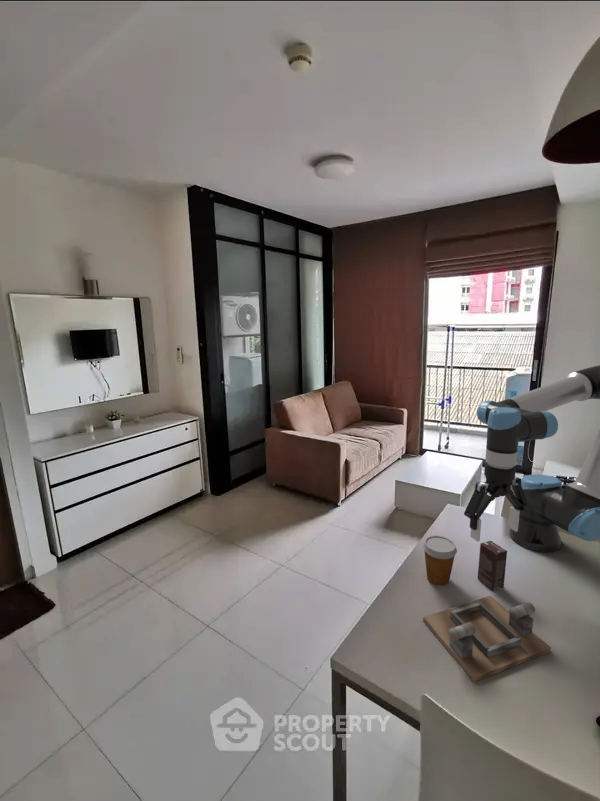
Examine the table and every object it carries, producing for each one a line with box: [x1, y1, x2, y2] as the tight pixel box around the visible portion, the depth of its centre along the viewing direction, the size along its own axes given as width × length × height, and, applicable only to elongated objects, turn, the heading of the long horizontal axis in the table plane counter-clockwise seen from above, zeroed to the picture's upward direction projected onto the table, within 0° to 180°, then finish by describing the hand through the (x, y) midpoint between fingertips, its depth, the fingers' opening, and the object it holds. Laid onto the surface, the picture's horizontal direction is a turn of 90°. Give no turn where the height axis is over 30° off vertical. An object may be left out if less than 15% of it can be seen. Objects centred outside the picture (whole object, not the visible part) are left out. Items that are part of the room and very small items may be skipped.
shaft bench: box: [422, 595, 552, 683], centre depth 93 cm, size 24×18×8 cm
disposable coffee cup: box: [422, 535, 458, 587], centre depth 112 cm, size 10×10×12 cm
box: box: [477, 540, 508, 592], centre depth 110 cm, size 6×4×12 cm
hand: (494, 534), depth 108 cm, fingers open, 13 cm apart
